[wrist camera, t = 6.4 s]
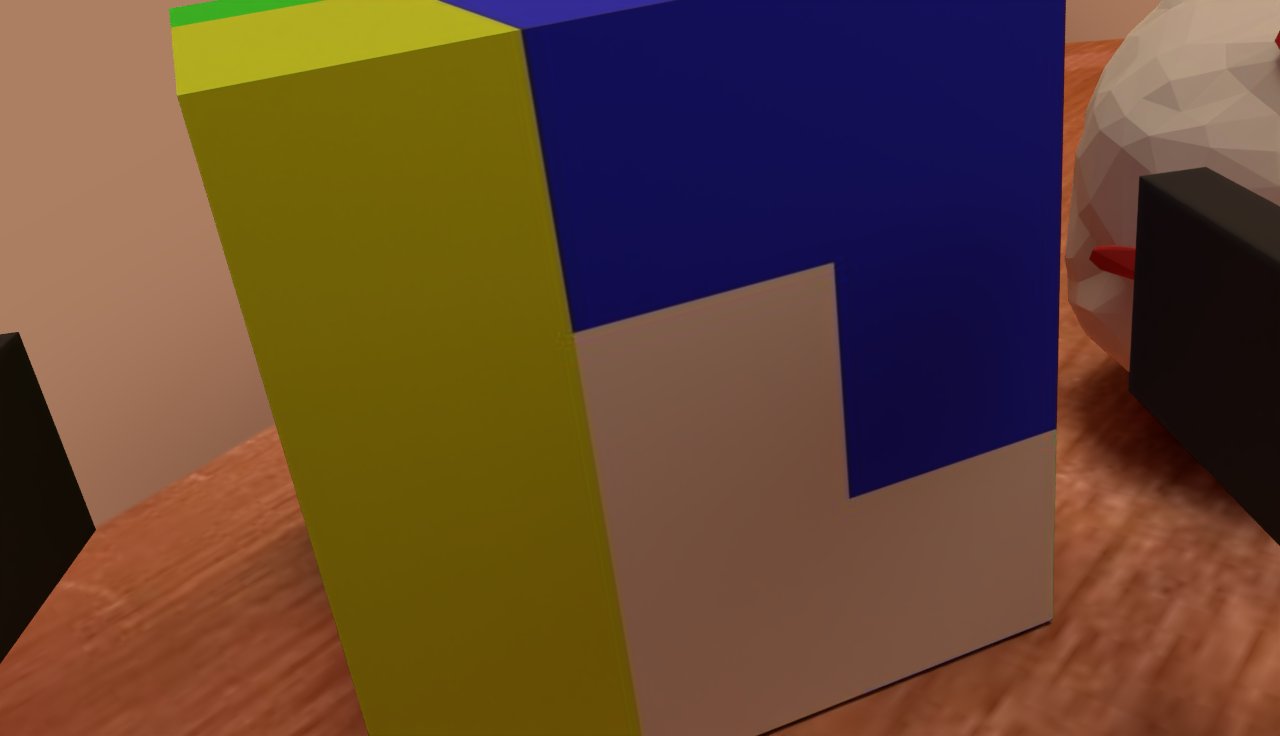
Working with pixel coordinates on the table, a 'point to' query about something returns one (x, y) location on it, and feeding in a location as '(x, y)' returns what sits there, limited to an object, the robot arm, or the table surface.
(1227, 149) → the white and red skull
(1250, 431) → the robot arm
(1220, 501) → the table surface
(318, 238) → the puzzle toy
